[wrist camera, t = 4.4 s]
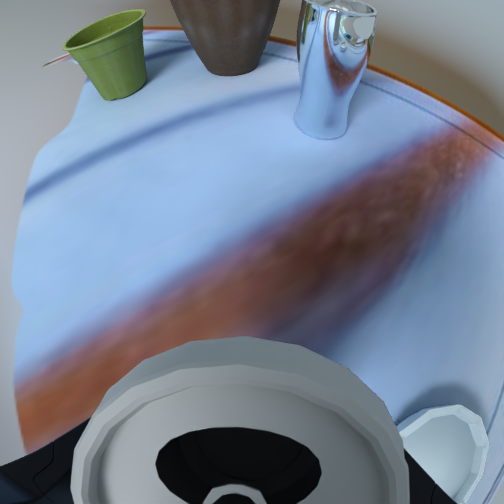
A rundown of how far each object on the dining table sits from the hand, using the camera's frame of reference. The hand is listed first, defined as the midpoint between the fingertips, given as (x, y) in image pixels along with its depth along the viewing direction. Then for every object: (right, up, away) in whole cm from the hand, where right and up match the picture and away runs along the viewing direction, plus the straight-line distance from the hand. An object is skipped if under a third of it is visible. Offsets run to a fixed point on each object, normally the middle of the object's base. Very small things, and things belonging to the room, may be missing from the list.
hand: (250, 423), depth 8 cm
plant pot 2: (-3, +33, +29) cm, 44 cm away
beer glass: (+8, +20, +23) cm, 31 cm away
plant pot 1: (-19, +30, +28) cm, 45 cm away
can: (0, -4, +6) cm, 7 cm away
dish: (+14, -12, +7) cm, 20 cm away
